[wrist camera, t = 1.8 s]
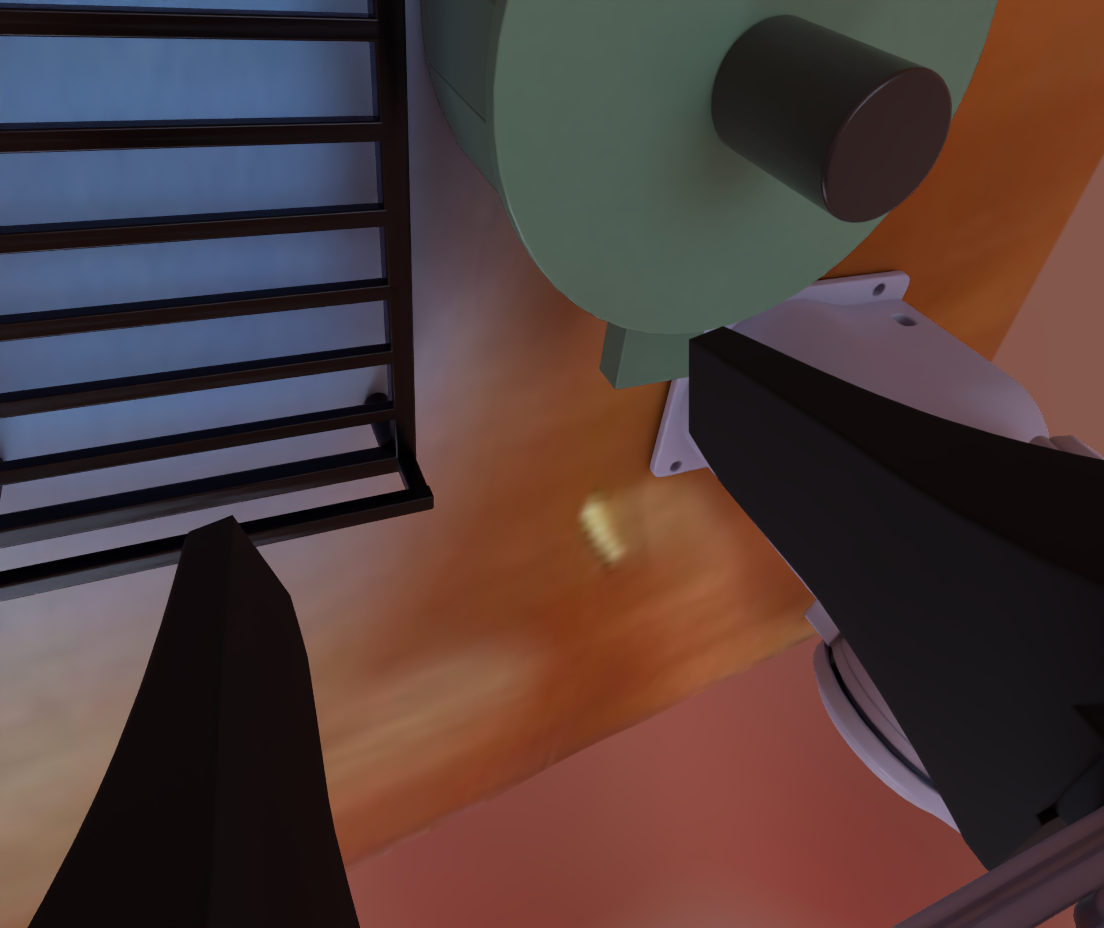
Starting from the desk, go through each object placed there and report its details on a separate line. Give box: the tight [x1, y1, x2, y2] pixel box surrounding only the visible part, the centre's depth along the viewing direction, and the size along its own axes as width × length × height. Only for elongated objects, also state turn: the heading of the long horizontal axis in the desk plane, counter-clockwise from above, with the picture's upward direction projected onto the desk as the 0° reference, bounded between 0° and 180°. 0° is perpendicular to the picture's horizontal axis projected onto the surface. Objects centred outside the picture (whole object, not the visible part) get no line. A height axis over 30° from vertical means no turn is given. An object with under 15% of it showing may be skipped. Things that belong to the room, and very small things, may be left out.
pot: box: [421, 0, 704, 389], centre depth 16 cm, size 10×15×5 cm, turn 174°
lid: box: [485, 0, 997, 334], centre depth 13 cm, size 11×11×4 cm
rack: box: [0, 0, 434, 602], centre depth 15 cm, size 11×15×4 cm
